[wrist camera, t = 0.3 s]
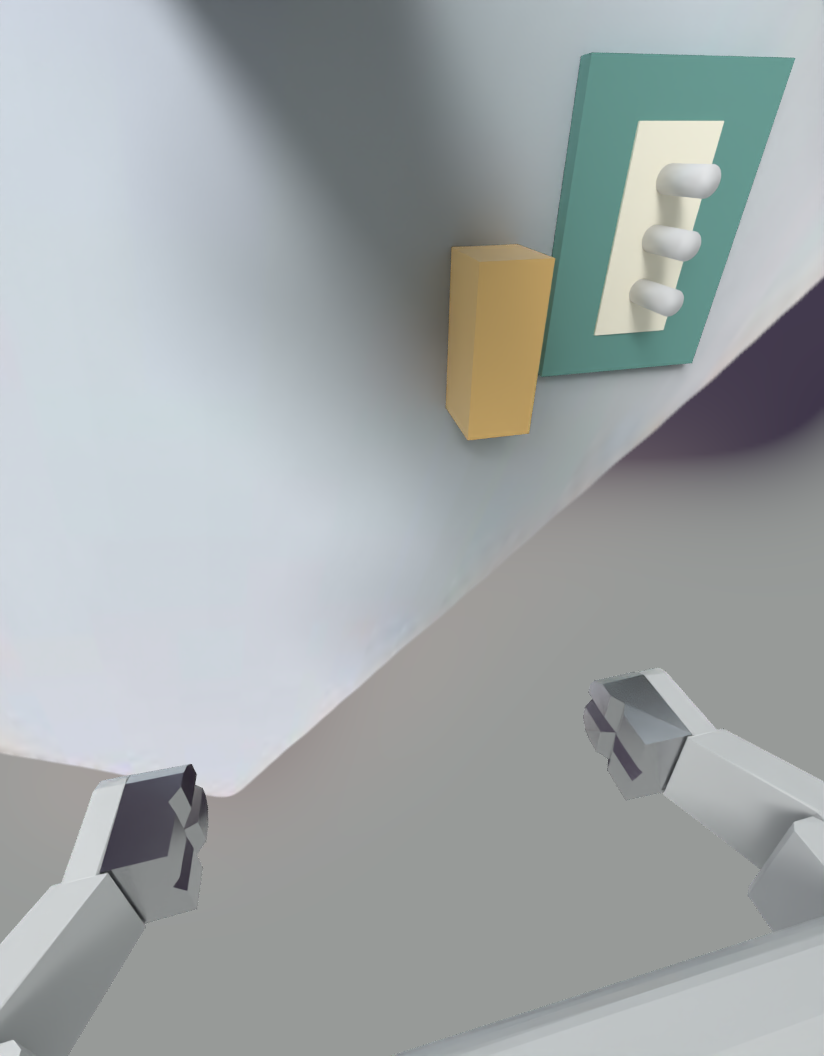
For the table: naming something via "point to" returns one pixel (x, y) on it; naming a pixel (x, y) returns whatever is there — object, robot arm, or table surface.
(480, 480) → the table surface
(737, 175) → the board
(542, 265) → the block
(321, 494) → the table surface
